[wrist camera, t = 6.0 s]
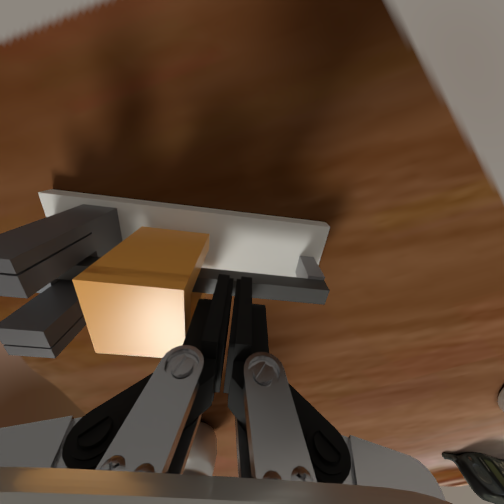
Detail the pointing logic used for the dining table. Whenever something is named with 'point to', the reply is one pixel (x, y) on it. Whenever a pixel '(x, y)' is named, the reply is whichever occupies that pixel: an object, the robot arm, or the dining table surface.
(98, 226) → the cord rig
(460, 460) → the mobile phone
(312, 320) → the dining table surface
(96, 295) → the orange bracket
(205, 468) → the plastic bottle
